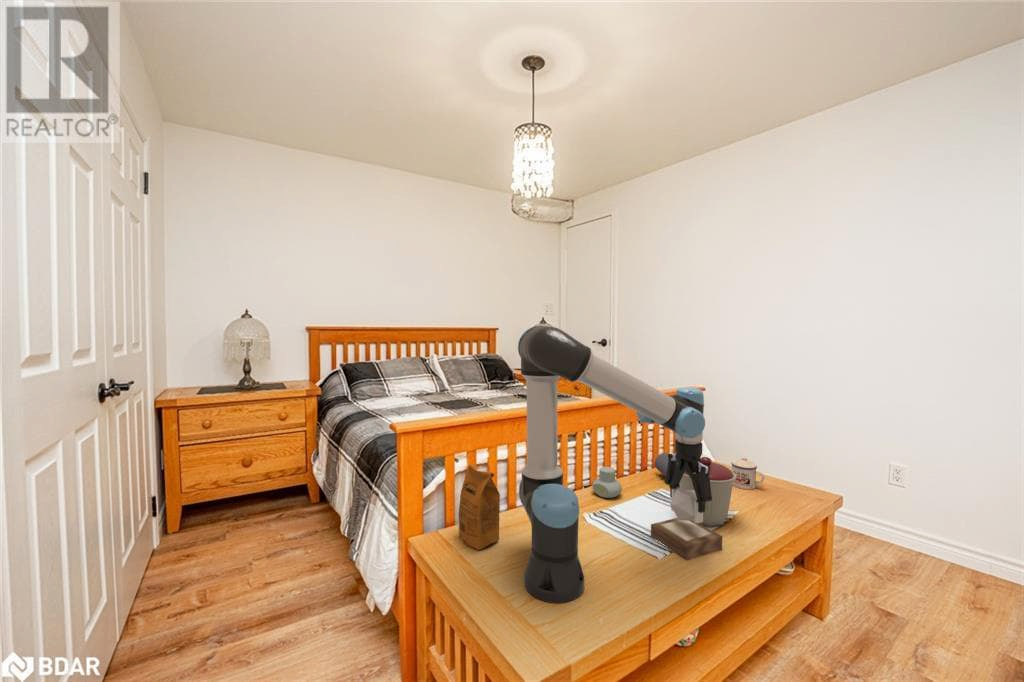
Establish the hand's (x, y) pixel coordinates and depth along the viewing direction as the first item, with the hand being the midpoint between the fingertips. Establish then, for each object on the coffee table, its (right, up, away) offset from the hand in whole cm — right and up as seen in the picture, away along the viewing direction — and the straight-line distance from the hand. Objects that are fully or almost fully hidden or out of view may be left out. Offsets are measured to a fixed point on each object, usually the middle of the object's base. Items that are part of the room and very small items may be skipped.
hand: (686, 515), depth 128 cm
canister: (+12, -8, +16) cm, 22 cm away
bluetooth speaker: (+15, -6, +46) cm, 49 cm away
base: (0, -8, 0) cm, 8 cm away
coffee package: (-62, -8, +2) cm, 63 cm away
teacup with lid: (+42, -7, +44) cm, 62 cm away
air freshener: (-16, -7, +35) cm, 39 cm away
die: (0, -1, 0) cm, 1 cm away
